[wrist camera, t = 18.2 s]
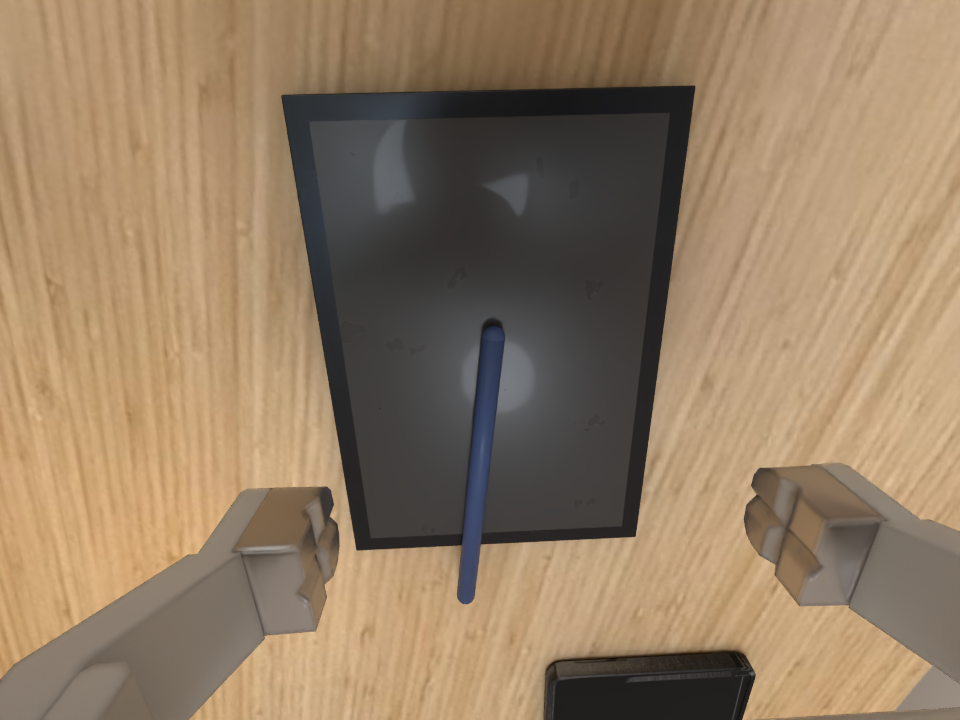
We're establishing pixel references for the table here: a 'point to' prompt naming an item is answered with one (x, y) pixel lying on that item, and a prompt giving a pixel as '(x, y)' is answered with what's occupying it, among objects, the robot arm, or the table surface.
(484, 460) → the stylus
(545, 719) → the phone
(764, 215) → the table surface
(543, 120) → the tablet
